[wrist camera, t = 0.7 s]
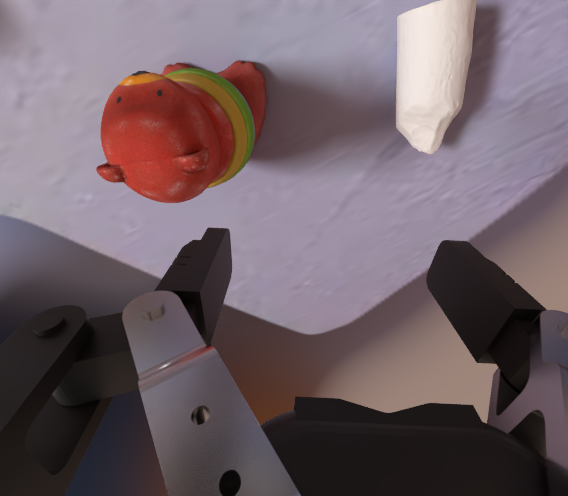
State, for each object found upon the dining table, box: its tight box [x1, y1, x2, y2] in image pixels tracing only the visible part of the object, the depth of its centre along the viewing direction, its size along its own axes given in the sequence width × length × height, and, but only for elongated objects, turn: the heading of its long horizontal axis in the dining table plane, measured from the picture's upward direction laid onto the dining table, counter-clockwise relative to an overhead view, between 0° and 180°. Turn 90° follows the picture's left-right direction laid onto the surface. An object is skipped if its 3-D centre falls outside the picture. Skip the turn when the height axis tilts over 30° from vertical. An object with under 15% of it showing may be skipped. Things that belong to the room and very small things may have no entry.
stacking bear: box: [96, 61, 266, 203], centre depth 22 cm, size 11×10×18 cm
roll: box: [396, 0, 477, 154], centre depth 25 cm, size 6×12×6 cm, turn 11°
